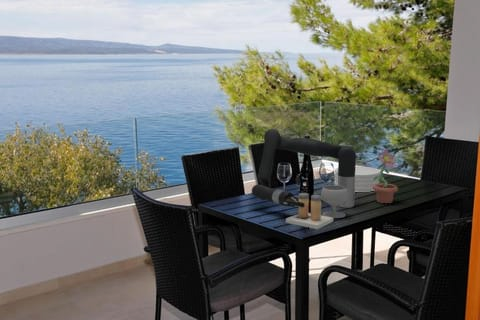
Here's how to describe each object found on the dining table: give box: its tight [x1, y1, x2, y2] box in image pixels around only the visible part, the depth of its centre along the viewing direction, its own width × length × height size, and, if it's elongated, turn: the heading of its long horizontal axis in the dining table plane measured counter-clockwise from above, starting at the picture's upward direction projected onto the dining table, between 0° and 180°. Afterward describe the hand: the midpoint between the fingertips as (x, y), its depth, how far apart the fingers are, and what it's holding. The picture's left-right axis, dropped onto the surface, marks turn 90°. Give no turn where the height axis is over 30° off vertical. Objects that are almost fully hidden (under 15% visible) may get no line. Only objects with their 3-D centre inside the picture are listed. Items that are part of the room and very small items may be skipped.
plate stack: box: [333, 165, 380, 193], centre depth 340 cm, size 28×28×12 cm
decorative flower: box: [373, 149, 399, 205], centre depth 302 cm, size 15×14×30 cm
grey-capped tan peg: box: [297, 192, 310, 220], centre depth 268 cm, size 5×5×12 cm
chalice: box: [320, 184, 348, 219], centre depth 277 cm, size 14×14×15 cm
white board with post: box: [285, 194, 334, 230], centre depth 266 cm, size 16×18×14 cm
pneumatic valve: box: [295, 173, 316, 186], centre depth 329 cm, size 6×12×12 cm, turn 123°
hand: (307, 204), depth 266 cm, fingers closed on grey-capped tan peg, 5 cm apart
